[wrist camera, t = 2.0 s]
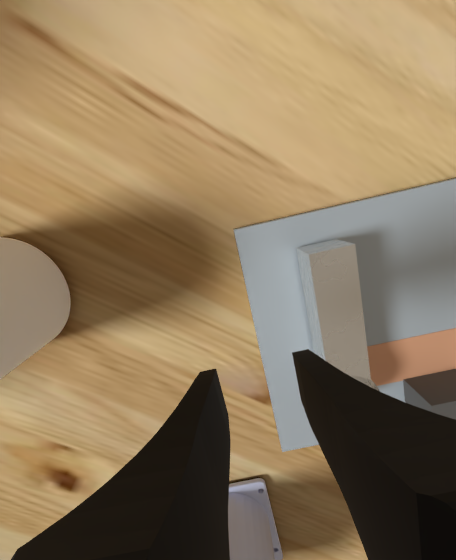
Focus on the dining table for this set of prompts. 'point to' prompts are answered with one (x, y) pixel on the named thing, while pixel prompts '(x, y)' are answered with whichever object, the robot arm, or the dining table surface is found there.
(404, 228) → the latch board
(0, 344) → the beverage can
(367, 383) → the latch bar
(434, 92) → the dining table surface
